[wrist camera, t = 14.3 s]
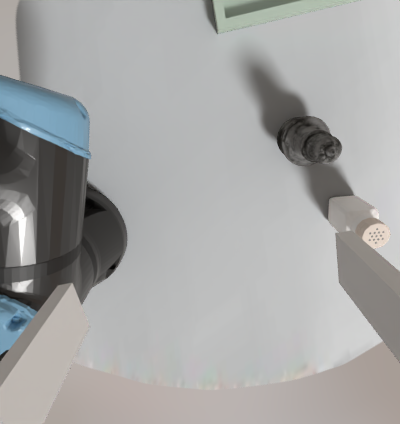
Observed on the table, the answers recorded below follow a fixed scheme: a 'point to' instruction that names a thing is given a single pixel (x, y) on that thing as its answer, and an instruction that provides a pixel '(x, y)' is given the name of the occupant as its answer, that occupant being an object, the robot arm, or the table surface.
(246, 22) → the tray
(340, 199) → the salt shaker
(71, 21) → the table surface
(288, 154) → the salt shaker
